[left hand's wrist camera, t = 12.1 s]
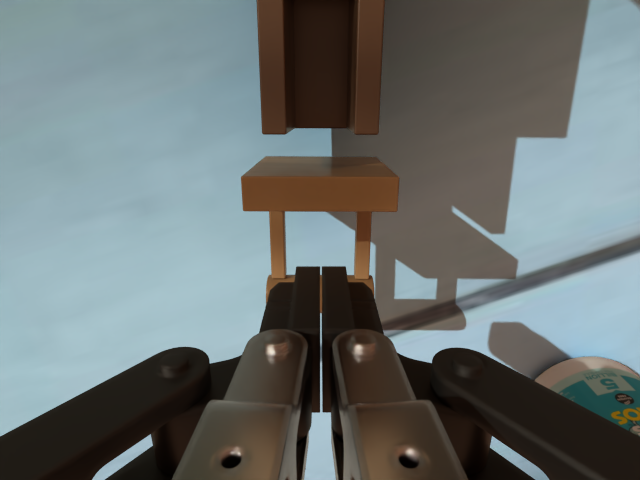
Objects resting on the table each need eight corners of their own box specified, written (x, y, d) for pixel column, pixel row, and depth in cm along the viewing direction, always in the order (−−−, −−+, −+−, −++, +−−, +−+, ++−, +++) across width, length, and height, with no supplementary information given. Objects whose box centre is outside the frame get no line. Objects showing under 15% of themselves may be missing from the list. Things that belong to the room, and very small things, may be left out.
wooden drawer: (370, 283, 21) (388, 348, 15) (270, 283, 21) (250, 347, 15) (398, -325, 14) (451, -626, 8) (246, -325, 14) (193, -626, 8)
